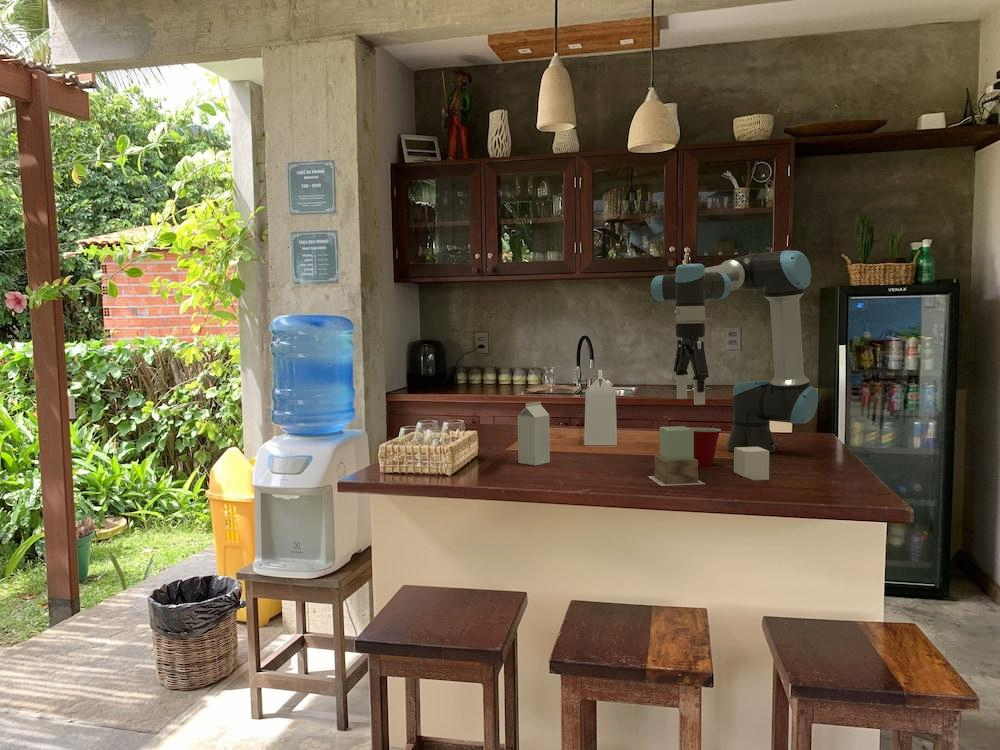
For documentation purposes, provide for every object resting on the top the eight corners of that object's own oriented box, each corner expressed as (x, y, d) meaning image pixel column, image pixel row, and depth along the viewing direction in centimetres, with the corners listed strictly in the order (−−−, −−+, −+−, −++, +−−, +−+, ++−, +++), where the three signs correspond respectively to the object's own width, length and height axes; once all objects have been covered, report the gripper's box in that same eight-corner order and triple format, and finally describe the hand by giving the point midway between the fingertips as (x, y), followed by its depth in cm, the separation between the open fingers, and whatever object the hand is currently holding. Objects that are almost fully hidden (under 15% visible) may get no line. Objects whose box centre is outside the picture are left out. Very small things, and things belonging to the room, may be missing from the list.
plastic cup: (721, 464, 231) (722, 425, 230) (719, 471, 221) (720, 430, 220) (685, 463, 235) (685, 424, 234) (681, 469, 225) (681, 429, 224)
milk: (584, 440, 280) (584, 369, 278) (616, 440, 279) (616, 369, 277) (584, 446, 268) (583, 372, 266) (617, 446, 267) (616, 371, 265)
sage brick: (684, 455, 210) (684, 426, 209) (693, 459, 203) (693, 429, 202) (659, 456, 209) (659, 426, 208) (667, 460, 202) (667, 430, 201)
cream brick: (757, 474, 217) (757, 446, 216) (768, 479, 210) (769, 450, 209) (733, 475, 216) (734, 447, 215) (744, 480, 209) (744, 451, 208)
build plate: (689, 478, 213) (689, 474, 213) (705, 487, 201) (705, 483, 201) (647, 479, 212) (647, 476, 212) (661, 489, 200) (661, 485, 200)
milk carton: (550, 462, 239) (549, 402, 237) (535, 466, 234) (534, 404, 232) (532, 460, 244) (532, 400, 242) (517, 463, 238) (517, 402, 237)
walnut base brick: (686, 475, 211) (686, 454, 211) (698, 482, 202) (698, 460, 202) (654, 477, 210) (654, 455, 210) (664, 484, 201) (664, 461, 201)
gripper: (662, 322, 216) (662, 396, 218) (692, 323, 192) (693, 407, 193) (687, 321, 217) (688, 396, 219) (721, 322, 192) (721, 406, 194)
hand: (690, 401), depth 206 cm, fingers open, 13 cm apart
